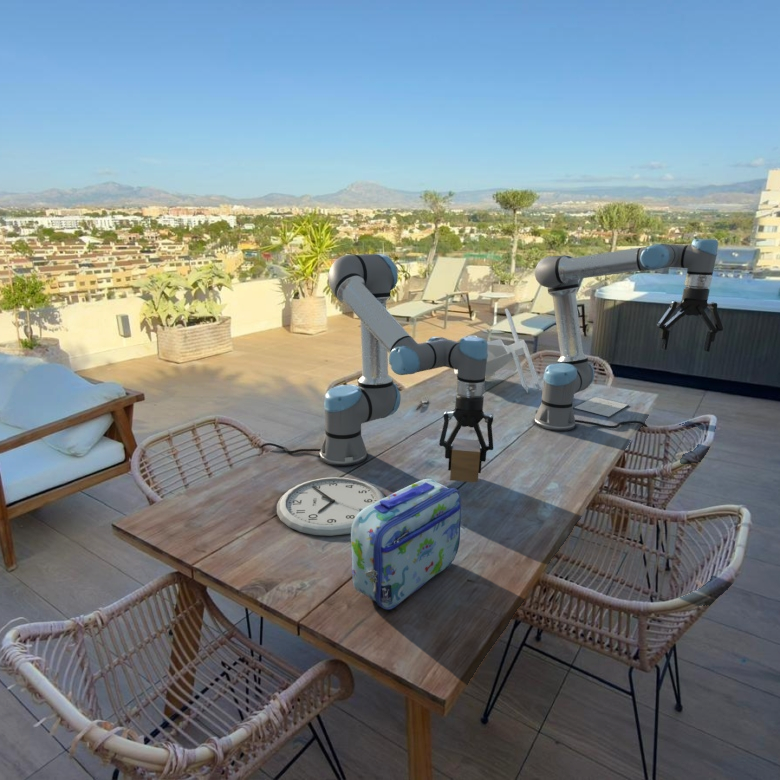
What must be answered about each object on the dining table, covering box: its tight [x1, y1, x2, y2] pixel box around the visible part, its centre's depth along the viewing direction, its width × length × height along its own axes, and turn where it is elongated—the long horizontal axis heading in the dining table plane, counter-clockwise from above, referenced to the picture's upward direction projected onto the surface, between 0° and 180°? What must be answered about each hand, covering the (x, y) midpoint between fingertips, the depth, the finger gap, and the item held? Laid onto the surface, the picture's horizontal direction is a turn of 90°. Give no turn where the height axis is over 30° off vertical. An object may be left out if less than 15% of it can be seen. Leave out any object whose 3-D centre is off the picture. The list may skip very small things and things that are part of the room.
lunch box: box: [350, 478, 462, 611], centre depth 110 cm, size 26×11×21 cm, turn 135°
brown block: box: [449, 437, 481, 484], centre depth 149 cm, size 8×8×9 cm
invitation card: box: [573, 396, 629, 418], centre depth 226 cm, size 21×1×15 cm
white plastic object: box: [453, 307, 542, 394], centre depth 254 cm, size 37×45×31 cm
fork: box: [415, 395, 430, 410], centre depth 224 cm, size 3×16×2 cm, turn 160°
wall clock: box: [276, 476, 386, 537], centre depth 142 cm, size 30×2×30 cm
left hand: (464, 469), depth 150 cm, fingers closed on brown block, 8 cm apart
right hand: (685, 349), depth 180 cm, fingers open, 13 cm apart
